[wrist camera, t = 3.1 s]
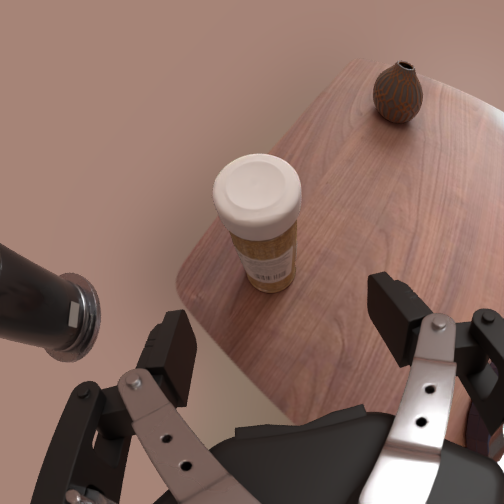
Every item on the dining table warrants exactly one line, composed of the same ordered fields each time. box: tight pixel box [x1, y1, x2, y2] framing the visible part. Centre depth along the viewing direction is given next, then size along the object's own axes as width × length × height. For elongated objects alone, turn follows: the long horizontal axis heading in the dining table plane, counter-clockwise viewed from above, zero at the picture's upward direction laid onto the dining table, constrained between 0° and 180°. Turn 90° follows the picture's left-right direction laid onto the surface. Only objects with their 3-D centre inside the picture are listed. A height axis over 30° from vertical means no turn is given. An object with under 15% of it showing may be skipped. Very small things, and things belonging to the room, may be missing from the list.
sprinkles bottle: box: [212, 154, 301, 293], centre depth 20 cm, size 5×4×14 cm
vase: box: [373, 61, 423, 123], centre depth 28 cm, size 7×7×9 cm
